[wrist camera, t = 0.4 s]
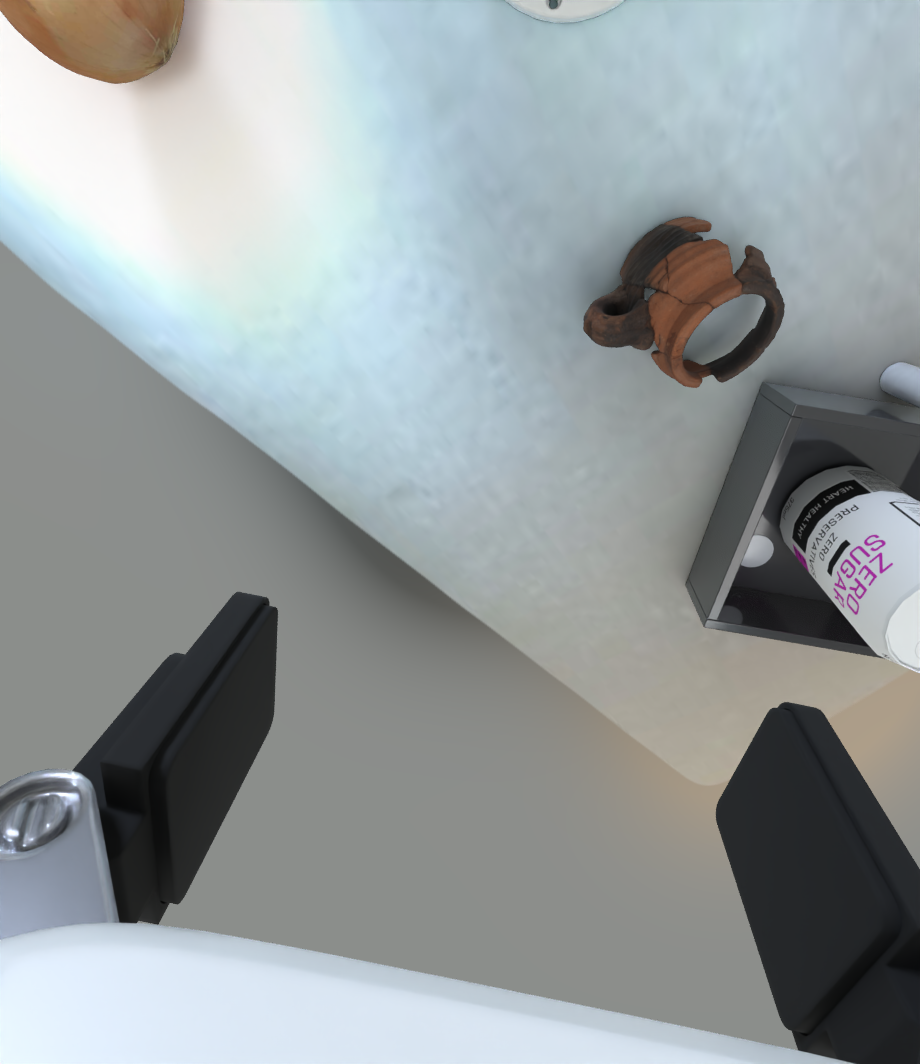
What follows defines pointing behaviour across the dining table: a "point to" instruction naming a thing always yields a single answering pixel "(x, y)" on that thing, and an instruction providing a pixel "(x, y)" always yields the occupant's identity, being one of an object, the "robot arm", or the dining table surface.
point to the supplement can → (862, 554)
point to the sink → (763, 490)
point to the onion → (100, 34)
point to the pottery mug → (684, 300)
